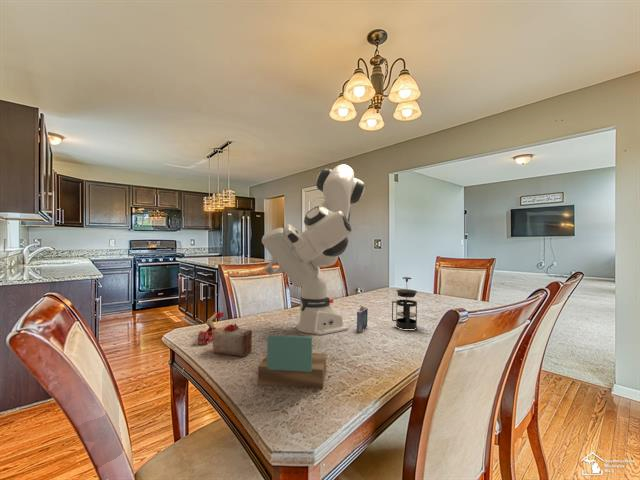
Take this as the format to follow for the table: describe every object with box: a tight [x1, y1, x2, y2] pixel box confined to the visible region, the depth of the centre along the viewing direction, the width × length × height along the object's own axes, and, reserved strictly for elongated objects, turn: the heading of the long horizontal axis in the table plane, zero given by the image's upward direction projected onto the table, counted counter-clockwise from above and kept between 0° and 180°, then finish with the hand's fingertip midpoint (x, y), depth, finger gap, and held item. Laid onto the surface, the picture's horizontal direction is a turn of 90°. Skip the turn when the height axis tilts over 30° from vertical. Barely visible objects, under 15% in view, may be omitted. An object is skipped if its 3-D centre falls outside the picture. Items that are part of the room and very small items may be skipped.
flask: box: [356, 304, 369, 333], centre depth 131 cm, size 9×3×11 cm, turn 151°
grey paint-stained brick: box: [212, 322, 253, 358], centre depth 104 cm, size 14×8×10 cm, turn 74°
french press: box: [391, 276, 418, 329], centre depth 134 cm, size 12×9×23 cm
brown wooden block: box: [257, 352, 327, 389], centre depth 86 cm, size 11×18×5 cm, turn 84°
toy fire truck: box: [197, 311, 225, 345], centre depth 117 cm, size 3×14×10 cm, turn 168°
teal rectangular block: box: [266, 334, 313, 372], centre depth 80 cm, size 1×12×9 cm, turn 84°
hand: (267, 271), depth 93 cm, fingers closed
